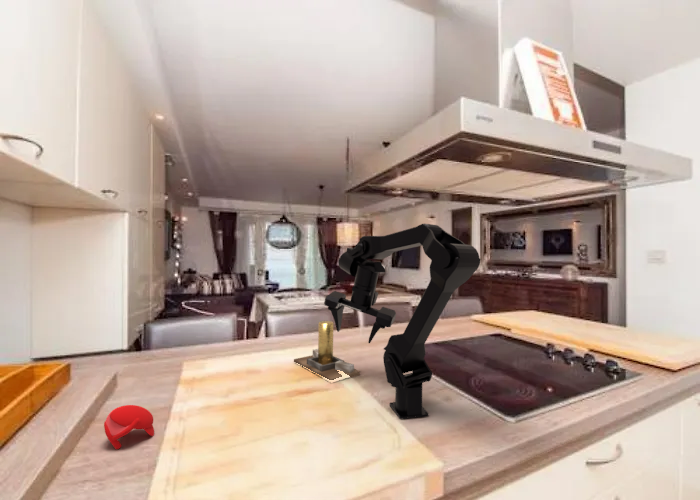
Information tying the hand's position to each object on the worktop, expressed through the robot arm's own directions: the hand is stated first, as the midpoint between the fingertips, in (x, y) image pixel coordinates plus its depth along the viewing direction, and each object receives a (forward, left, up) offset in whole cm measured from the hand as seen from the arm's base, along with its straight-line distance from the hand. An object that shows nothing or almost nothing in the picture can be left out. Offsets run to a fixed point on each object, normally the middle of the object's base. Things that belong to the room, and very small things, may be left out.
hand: (353, 336), depth 85 cm
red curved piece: (-19, +46, -12) cm, 51 cm away
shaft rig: (+10, +6, -11) cm, 16 cm away
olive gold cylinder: (+9, +6, -10) cm, 15 cm away
